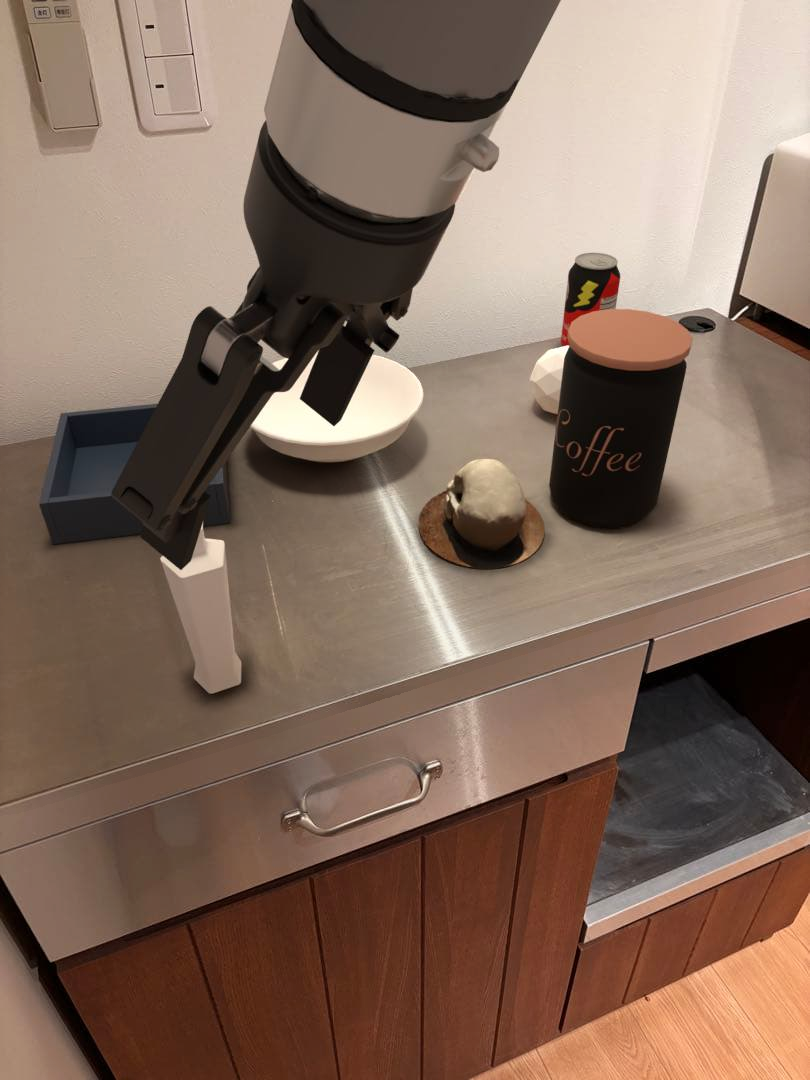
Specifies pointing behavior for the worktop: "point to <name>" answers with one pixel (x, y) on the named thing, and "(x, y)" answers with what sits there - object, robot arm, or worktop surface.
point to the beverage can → (590, 288)
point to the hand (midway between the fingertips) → (249, 474)
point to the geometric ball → (548, 379)
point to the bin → (103, 476)
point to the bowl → (364, 426)
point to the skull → (482, 518)
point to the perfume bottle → (206, 613)
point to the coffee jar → (616, 415)
